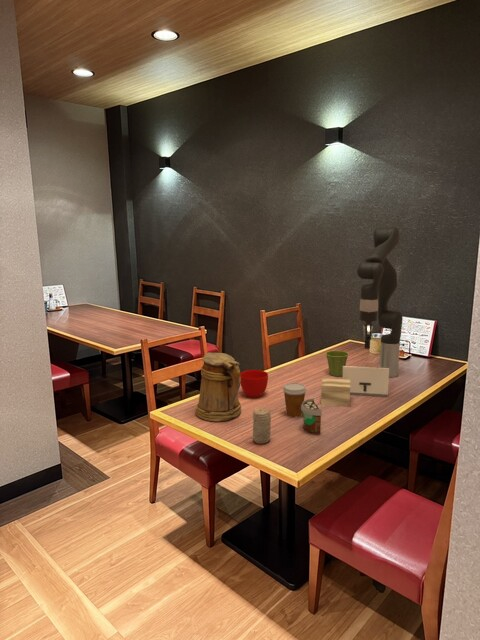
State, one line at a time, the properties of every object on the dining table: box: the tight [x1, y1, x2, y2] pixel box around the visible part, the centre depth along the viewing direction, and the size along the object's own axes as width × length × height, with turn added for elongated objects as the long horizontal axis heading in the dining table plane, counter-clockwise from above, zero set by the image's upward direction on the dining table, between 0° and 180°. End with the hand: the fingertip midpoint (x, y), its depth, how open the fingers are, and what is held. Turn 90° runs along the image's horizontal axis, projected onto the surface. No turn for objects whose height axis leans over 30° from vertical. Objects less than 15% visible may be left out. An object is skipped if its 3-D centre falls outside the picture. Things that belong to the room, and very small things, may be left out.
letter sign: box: [342, 365, 390, 398], centre depth 209 cm, size 6×20×13 cm, turn 77°
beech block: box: [320, 377, 351, 408], centre depth 201 cm, size 10×12×9 cm
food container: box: [301, 398, 322, 435], centre depth 174 cm, size 12×6×10 cm, turn 5°
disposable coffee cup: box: [282, 382, 307, 418], centre depth 188 cm, size 10×10×12 cm
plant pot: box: [325, 350, 350, 377], centre depth 236 cm, size 12×12×11 cm
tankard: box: [195, 352, 242, 423], centre depth 187 cm, size 18×24×25 cm
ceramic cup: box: [240, 369, 269, 399], centre depth 212 cm, size 13×17×10 cm
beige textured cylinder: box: [252, 407, 272, 444], centre depth 165 cm, size 6×8×12 cm
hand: (367, 348), depth 200 cm, fingers closed
